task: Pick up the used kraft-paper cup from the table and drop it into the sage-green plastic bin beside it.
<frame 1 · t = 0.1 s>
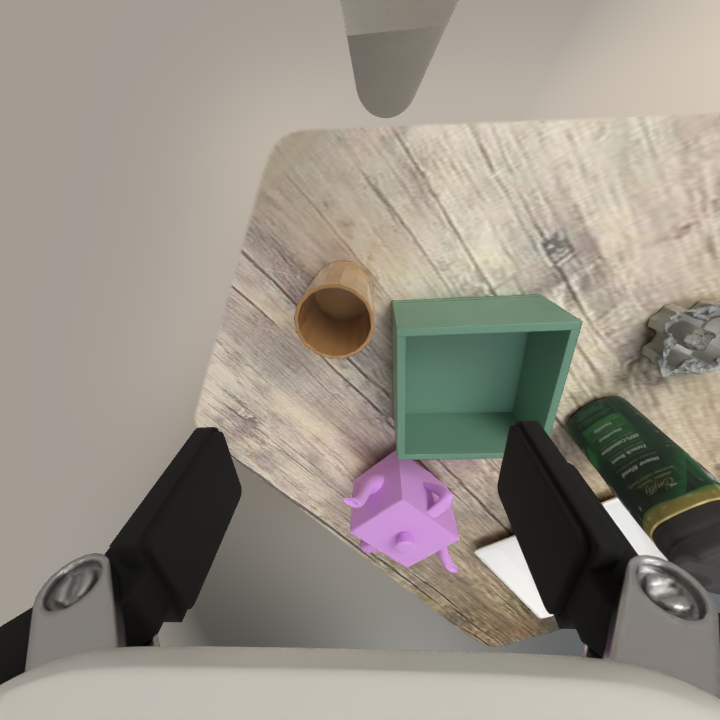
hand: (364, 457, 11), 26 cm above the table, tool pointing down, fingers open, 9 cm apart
teapot: (399, 474, 47), on the table
egg carton: (692, 328, 35), on the table
bin: (459, 361, 38), on the table
paper cup: (343, 292, 34), on the table
plate: (576, 551, 55), on the table
coffee jar: (600, 423, 42), on the table
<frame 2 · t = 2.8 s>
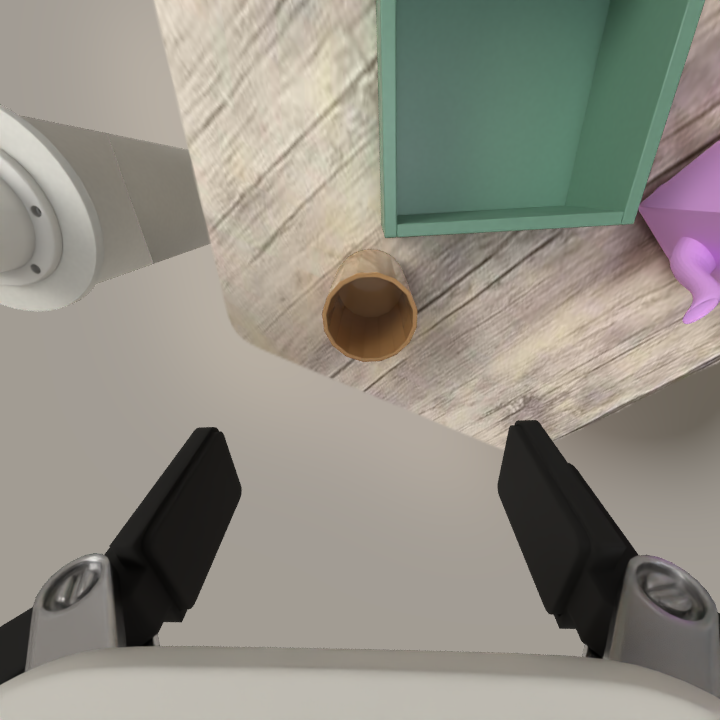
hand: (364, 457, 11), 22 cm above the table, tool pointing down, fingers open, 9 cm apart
teapot: (710, 195, 26), on the table
bin: (484, 105, 24), on the table
paper cup: (370, 285, 30), on the table
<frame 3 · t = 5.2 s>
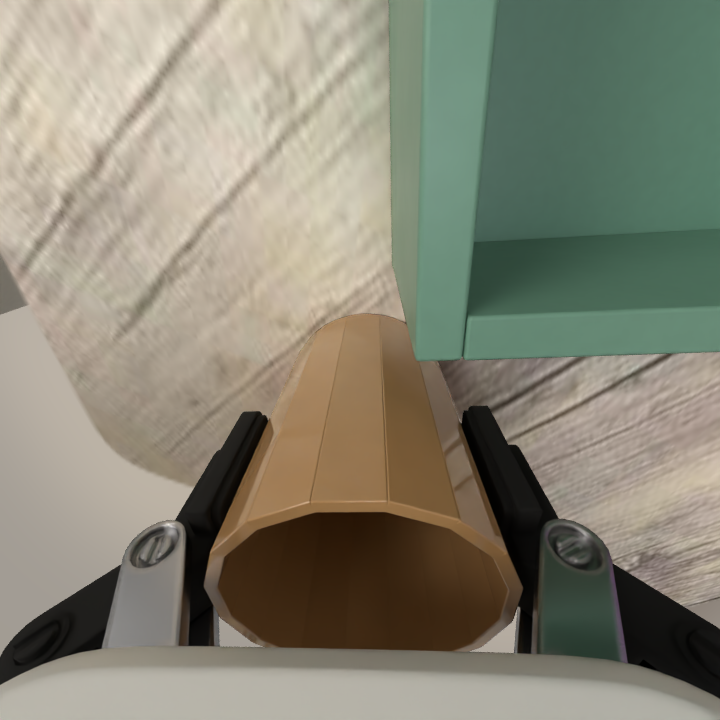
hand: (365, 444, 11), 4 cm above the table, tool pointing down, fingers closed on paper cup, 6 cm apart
paper cup: (367, 381, 15), on the table, touching gripper
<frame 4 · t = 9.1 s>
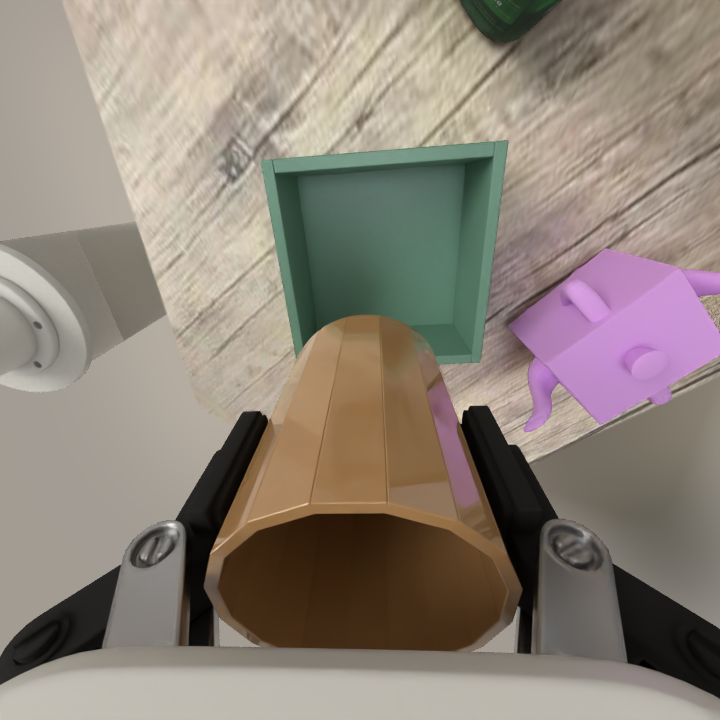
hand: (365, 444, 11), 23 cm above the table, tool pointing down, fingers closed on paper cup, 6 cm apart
teapot: (569, 314, 33), on the table
bin: (382, 255, 31), on the table
paper cup: (367, 381, 15), point 19 cm above the table, touching gripper
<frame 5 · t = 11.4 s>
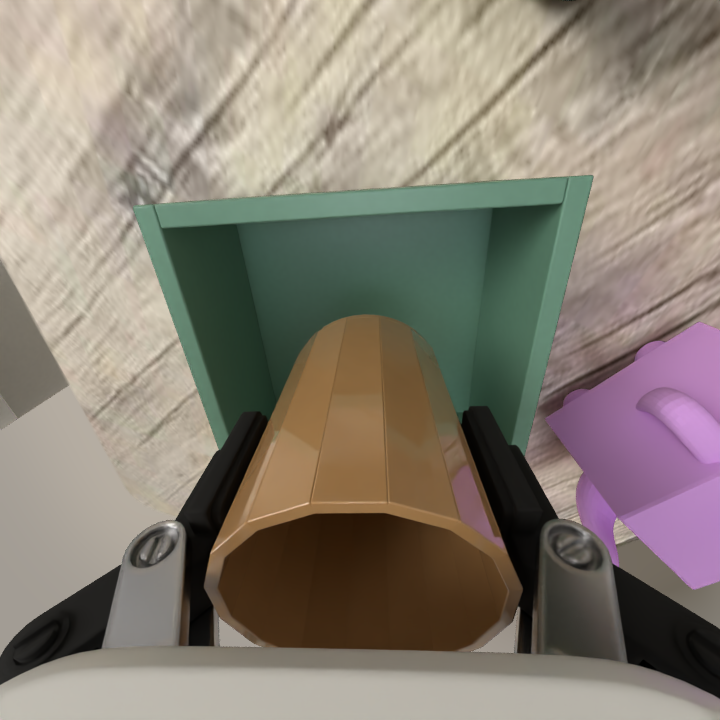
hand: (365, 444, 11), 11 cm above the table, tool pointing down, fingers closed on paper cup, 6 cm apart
teapot: (629, 399, 24), on the table
bin: (367, 322, 21), on the table
paper cup: (367, 381, 15), point 7 cm above the table, touching gripper
when the fingers open (8 cm above the table, at t = 13.1 s): paper cup drops 3 cm, resting on bin.
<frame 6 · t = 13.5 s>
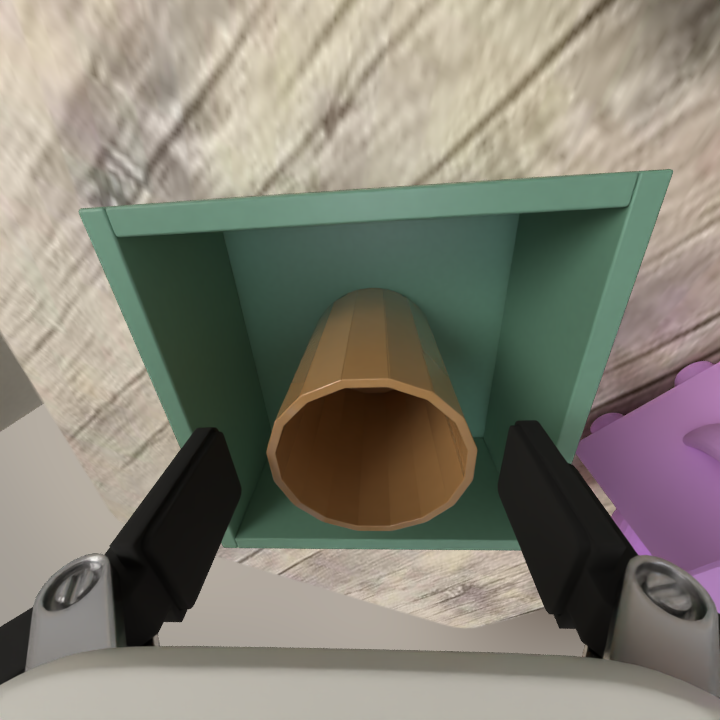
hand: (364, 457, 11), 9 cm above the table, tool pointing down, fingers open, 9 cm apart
teapot: (665, 424, 21), on the table
bin: (372, 338, 19), on the table
paper cup: (372, 344, 18), point 1 cm above the table, touching bin
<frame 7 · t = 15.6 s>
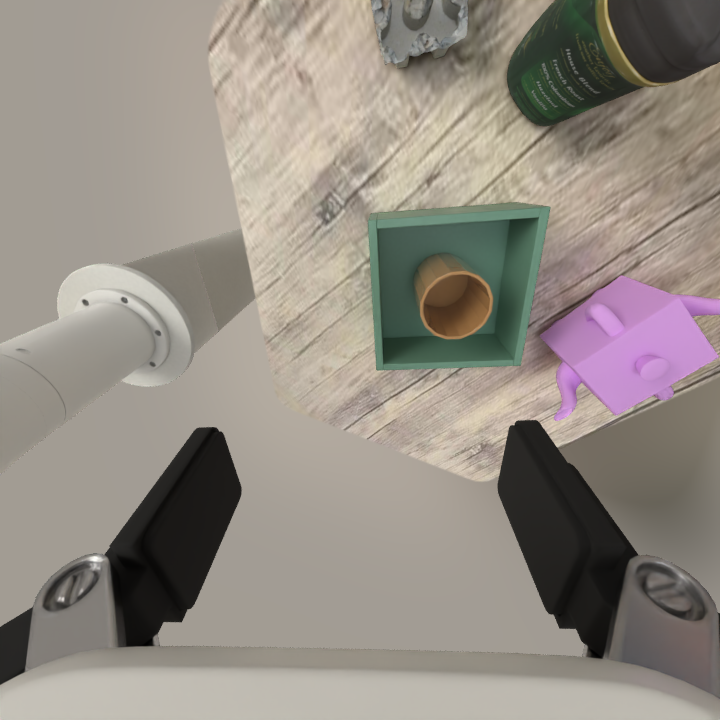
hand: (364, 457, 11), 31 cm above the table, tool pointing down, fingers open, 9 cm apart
teapot: (590, 325, 40), on the table
bin: (439, 279, 38), on the table
paper cup: (440, 281, 38), point 1 cm above the table, touching bin
coffee jar: (561, 61, 29), on the table
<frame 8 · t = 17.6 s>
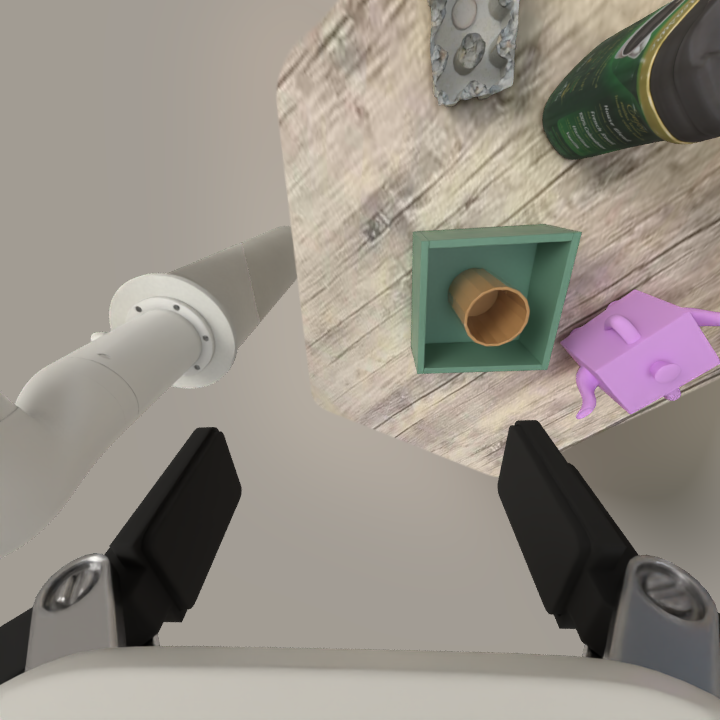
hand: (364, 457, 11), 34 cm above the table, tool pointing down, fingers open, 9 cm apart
teapot: (604, 333, 45), on the table
egg carton: (466, 38, 31), on the table
bin: (471, 291, 42), on the table
paper cup: (473, 293, 42), point 1 cm above the table, touching bin
coffee jar: (589, 104, 33), on the table
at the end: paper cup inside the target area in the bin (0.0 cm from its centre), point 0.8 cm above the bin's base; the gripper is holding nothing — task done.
